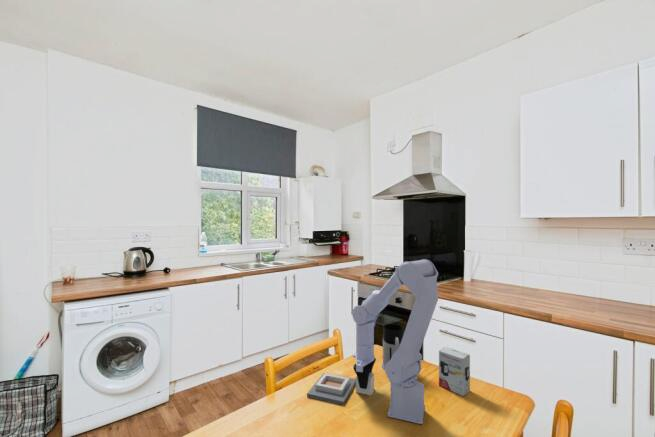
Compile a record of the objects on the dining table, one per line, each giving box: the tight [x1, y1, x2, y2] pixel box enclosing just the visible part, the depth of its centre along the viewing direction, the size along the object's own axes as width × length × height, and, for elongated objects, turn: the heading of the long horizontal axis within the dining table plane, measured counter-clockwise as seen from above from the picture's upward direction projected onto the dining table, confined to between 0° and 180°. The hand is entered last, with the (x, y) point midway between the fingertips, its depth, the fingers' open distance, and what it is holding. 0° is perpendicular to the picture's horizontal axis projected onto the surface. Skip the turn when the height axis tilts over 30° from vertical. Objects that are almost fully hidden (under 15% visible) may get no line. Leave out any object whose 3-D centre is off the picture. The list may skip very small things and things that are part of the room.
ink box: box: [438, 346, 471, 397], centre depth 99 cm, size 9×5×12 cm, turn 42°
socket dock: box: [306, 372, 356, 406], centre depth 98 cm, size 12×14×2 cm
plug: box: [355, 372, 375, 396], centre depth 97 cm, size 5×4×6 cm
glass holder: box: [381, 323, 404, 371], centre depth 111 cm, size 9×14×15 cm, turn 178°
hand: (364, 384), depth 97 cm, fingers closed on plug, 4 cm apart
